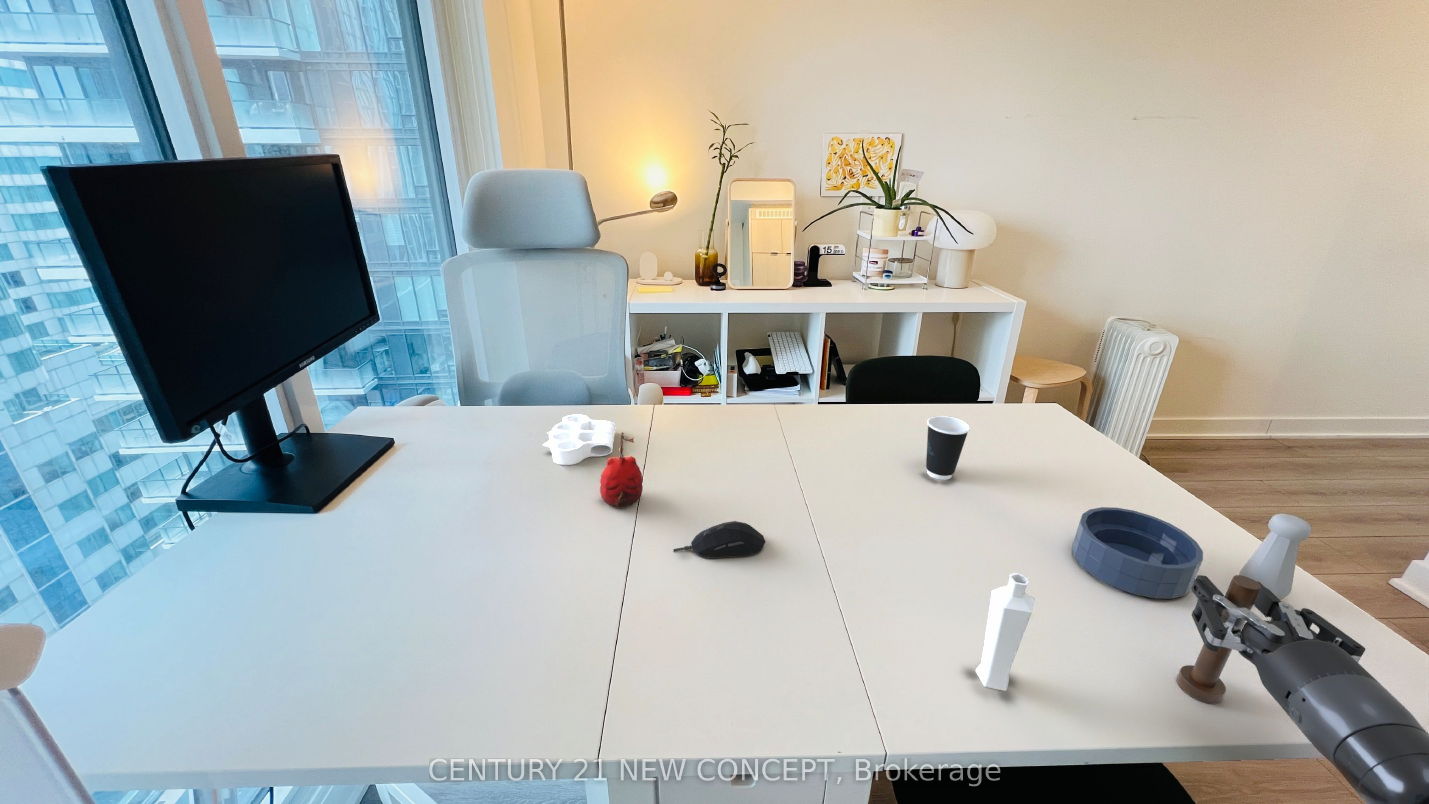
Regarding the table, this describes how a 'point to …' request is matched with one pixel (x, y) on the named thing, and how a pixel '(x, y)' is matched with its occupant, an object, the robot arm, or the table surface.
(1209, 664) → the pestle
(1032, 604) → the perfume bottle
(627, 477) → the red clay folk toy
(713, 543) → the gaming mouse
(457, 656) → the table surface
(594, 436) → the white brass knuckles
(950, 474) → the dixie cup
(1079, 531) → the bowl
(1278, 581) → the salt shaker
